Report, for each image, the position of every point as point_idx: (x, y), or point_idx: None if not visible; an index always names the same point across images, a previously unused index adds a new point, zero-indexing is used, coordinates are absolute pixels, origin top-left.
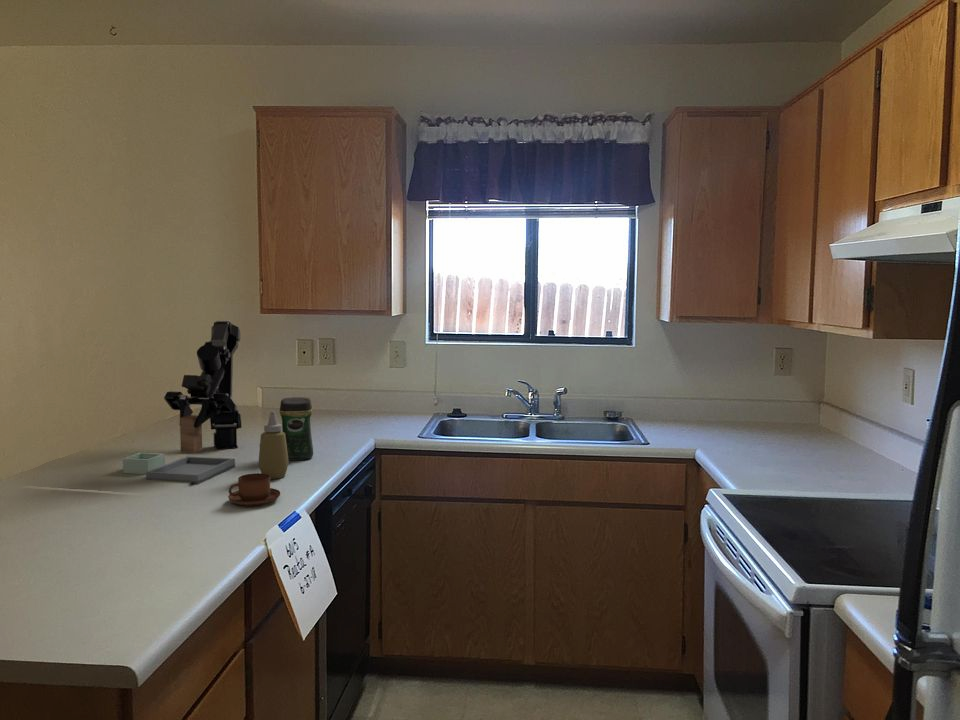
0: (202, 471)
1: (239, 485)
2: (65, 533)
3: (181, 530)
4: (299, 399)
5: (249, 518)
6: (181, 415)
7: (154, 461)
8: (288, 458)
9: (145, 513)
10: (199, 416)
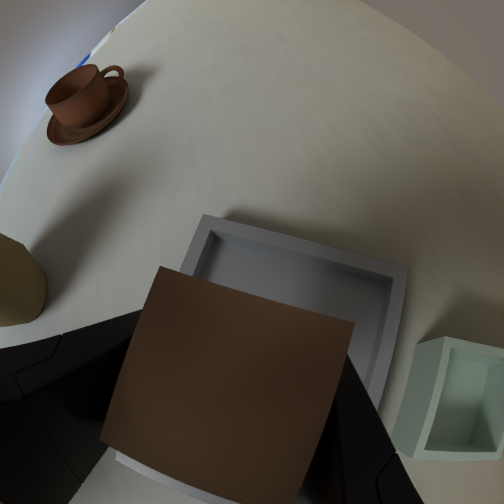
0: (195, 264)
1: (101, 74)
2: (344, 20)
3: (197, 25)
4: None
5: (113, 61)
6: (364, 429)
7: (427, 382)
8: None
9: (271, 56)
10: (96, 337)
